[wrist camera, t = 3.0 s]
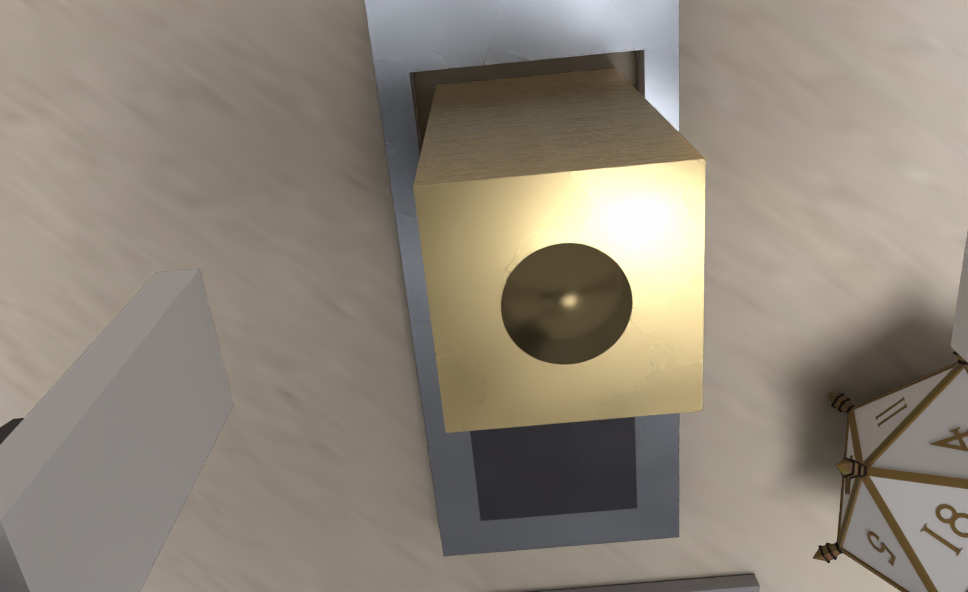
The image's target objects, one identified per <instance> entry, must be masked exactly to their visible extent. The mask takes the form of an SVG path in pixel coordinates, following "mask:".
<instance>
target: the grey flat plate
mask: <svg viewBox="0 0 968 592" xmlns="http://www.w3.org/2000/svg"><path fill="white" fill-rule="evenodd" d="M365 7H366V14H367V21H368V28H369V35H370V42H371V49H372V56H373V64H374V71H375V78H376V85H377V92H378V99H379V106H380V113H381V120H382V127H383V134H384V141H385V148H386V155H387V162H388V169H389V176H390V183H391V190H392V197H393V204H394V211H395V218H396V225H397V232H398V239H399V246H400V253H401V260H402V267H403V274H404V281H405V288H406V296H407V303H408V310H409V317H410V324H411V331H412V338H413V345H414V352H415V359H416V366H417V373H418V380H419V387H420V394H421V401H422V408H423V415H424V422H425V429H426V436H427V443H428V450H429V457H430V464H431V471H432V478H433V485H434V492H435V499H436V506H437V513H438V520H439V528H440V535H441V542H442V549H443V556H453V555H466V554H478V553H490V552H502V551H515V550H527V549H539V548H552V547H564V546H576V545H589V544H601V543H613V542H625V541H638V540H650V539H662V538H675V537H679V413H672V414H660V415H648V416H637V417H625V418H614V419H602V420H591V421H579V422H567V423H556V424H544V425H533V426H521V427H509V428H498V429H486V430H475V431H463V432H451V433H446V432H445V424H444V417H443V409H442V402H441V394H440V386H439V379H438V371H437V363H436V356H435V348H434V341H433V333H432V325H431V318H430V310H429V302H428V295H427V287H426V280H425V272H424V264H423V257H422V249H421V242H420V234H419V226H418V219H417V211H416V203H415V196H414V188H413V185H414V181H415V176H416V172H417V168H418V163H419V159H420V154H421V150H422V141H421V133H420V125H419V117H418V108H417V100H416V92H415V84H414V76H413V72H419V71H429V70H440V69H450V68H460V67H470V66H481V65H491V64H501V63H512V62H522V61H532V60H542V59H553V58H563V57H573V56H584V55H594V54H604V53H614V52H625V51H635V50H637V90H638V91H639V92H640V93H641V94H642V95H643V97H644V98H645V99H646V100H647V101H648V102H649V103H650V104H651V105H652V106H653V107H654V108H655V109H656V110H657V111H658V112H659V113H660V114H661V115H662V116H663V117H664V118H665V119H666V120H667V121H668V122H669V123H670V124H671V125H672V126H673V127H674V128H675V129H676V130H677V131H678V132H679V0H365Z"/></svg>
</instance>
